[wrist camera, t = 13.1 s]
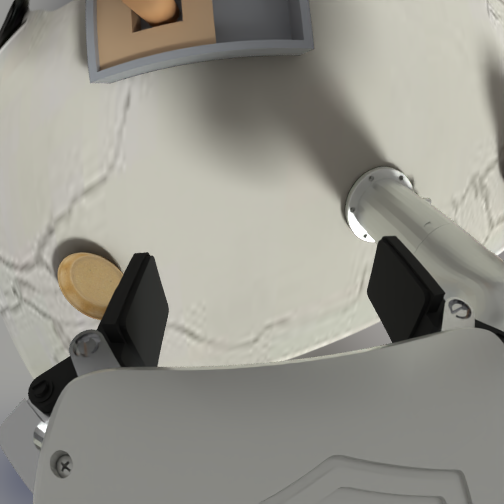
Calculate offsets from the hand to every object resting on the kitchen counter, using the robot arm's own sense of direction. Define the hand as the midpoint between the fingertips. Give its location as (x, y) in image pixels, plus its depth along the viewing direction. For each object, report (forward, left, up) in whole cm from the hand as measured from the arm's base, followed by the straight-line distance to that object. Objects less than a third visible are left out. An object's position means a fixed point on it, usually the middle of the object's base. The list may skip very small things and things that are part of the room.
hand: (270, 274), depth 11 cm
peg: (+7, -19, -26) cm, 33 cm away
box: (+3, -19, -27) cm, 33 cm away
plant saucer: (+27, +18, -27) cm, 42 cm away
